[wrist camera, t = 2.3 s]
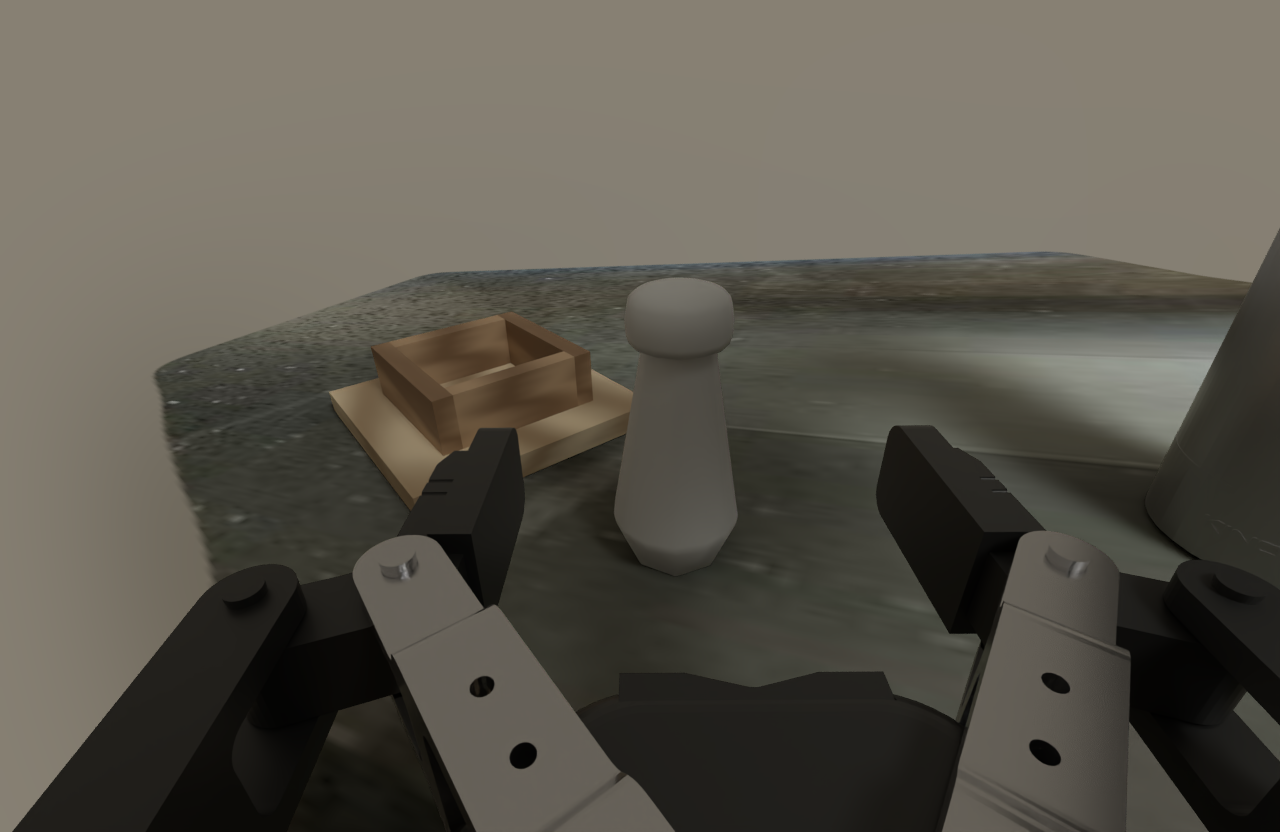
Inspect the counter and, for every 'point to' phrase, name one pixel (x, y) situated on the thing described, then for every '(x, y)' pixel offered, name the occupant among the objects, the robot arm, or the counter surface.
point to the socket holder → (479, 398)
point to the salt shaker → (677, 427)
